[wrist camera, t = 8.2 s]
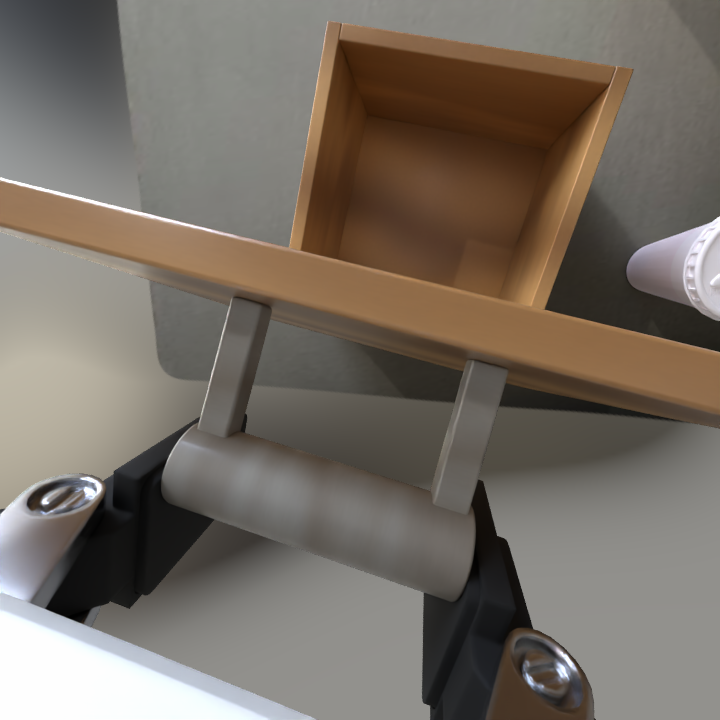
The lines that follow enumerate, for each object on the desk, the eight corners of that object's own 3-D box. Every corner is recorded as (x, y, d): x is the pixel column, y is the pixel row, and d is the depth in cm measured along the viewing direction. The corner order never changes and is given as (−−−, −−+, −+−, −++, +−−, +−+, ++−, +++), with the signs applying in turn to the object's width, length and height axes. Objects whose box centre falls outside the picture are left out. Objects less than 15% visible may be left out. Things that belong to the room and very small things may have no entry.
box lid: (-77, 157, 6) (-149, 461, 6) (1000, 418, 4) (863, 845, 4) (276, 308, 23) (255, 389, 23) (522, 373, 21) (498, 461, 21)
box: (361, 107, 29) (327, 19, 19) (558, 144, 27) (634, 68, 17) (322, 302, 33) (277, 313, 23) (490, 345, 31) (519, 377, 21)
